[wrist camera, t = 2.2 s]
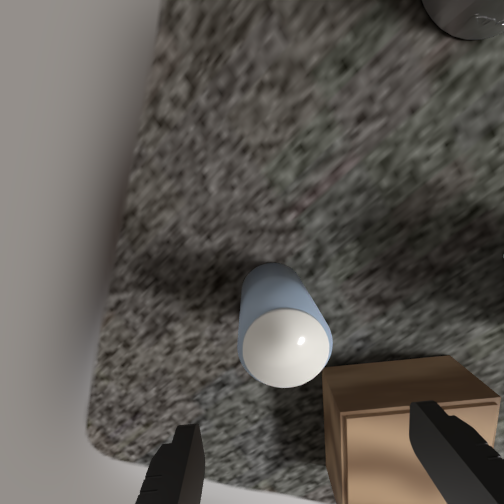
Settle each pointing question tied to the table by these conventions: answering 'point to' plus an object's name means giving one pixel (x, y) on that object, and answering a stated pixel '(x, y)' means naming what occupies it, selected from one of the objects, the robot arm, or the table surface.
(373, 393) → the cardboard box
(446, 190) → the table surface
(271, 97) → the table surface
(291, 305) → the canister
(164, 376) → the table surface
